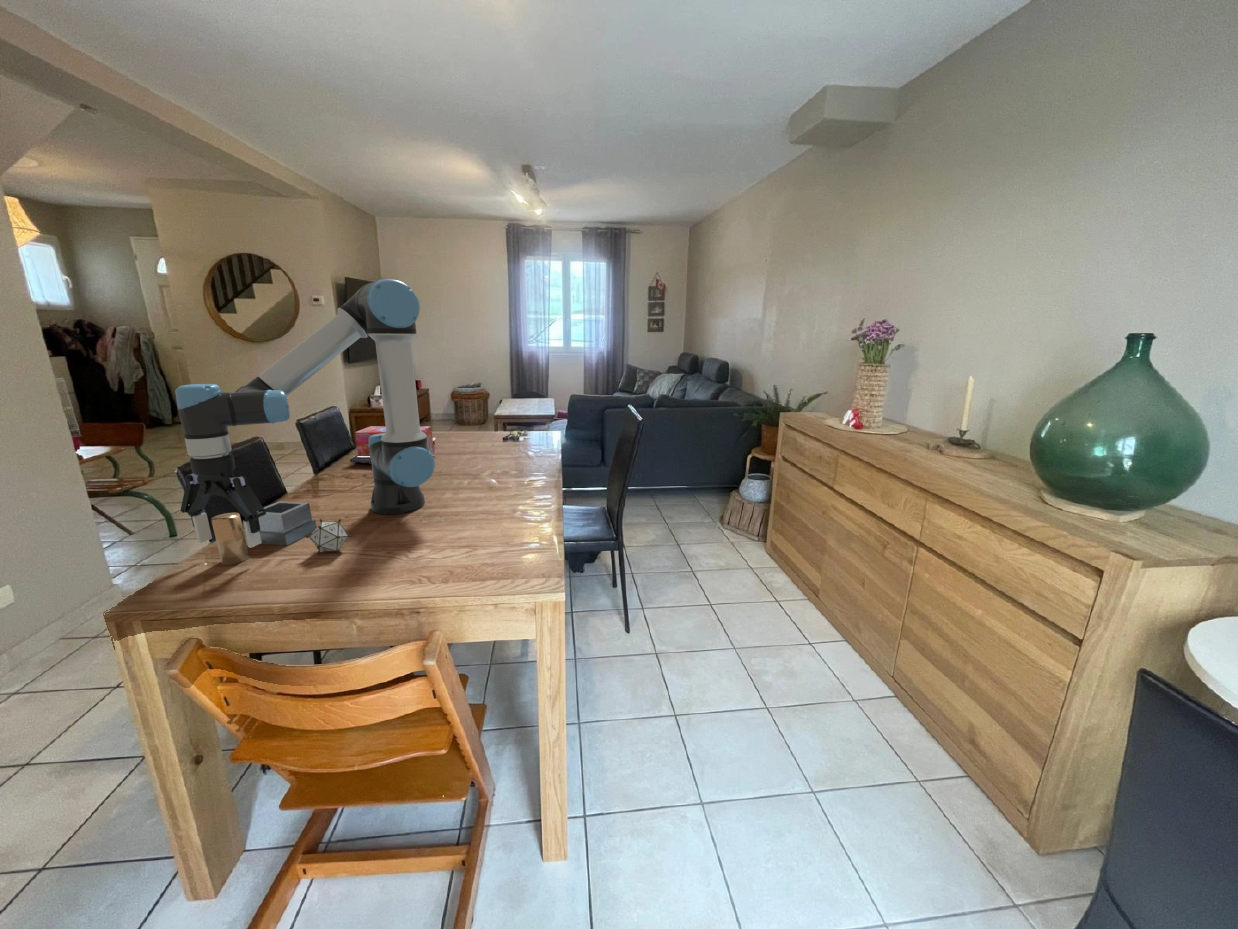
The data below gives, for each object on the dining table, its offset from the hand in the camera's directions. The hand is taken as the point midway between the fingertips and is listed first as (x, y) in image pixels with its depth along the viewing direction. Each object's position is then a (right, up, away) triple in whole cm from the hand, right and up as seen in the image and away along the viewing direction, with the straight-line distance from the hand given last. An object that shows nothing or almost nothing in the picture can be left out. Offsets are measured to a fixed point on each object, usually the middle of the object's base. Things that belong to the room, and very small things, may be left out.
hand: (229, 543), depth 113 cm
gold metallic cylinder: (0, -4, +1) cm, 5 cm away
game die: (+20, -3, +6) cm, 21 cm away
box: (-2, +20, +91) cm, 93 cm away
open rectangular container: (+1, -1, +15) cm, 15 cm away
